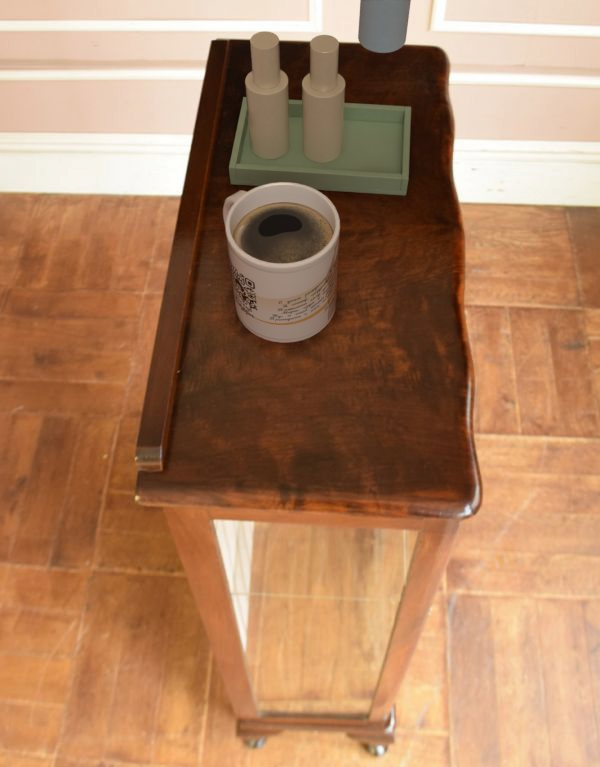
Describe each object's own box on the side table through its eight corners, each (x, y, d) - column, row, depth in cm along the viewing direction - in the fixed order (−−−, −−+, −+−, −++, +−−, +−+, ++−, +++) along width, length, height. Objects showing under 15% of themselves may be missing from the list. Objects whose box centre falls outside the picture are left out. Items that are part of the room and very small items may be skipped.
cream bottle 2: (343, 136, 87) (348, 30, 75) (340, 164, 84) (345, 58, 73) (304, 134, 87) (303, 28, 76) (300, 161, 85) (299, 56, 73)
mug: (227, 345, 73) (215, 268, 63) (228, 248, 79) (217, 165, 69) (339, 341, 73) (344, 264, 63) (331, 245, 79) (334, 161, 70)
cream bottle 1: (291, 133, 87) (289, 27, 76) (287, 160, 85) (284, 55, 74) (252, 131, 87) (245, 25, 76) (247, 158, 85) (238, 53, 74)
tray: (408, 123, 88) (411, 106, 86) (406, 195, 83) (408, 179, 80) (244, 114, 90) (243, 96, 88) (230, 184, 84) (228, 167, 82)
